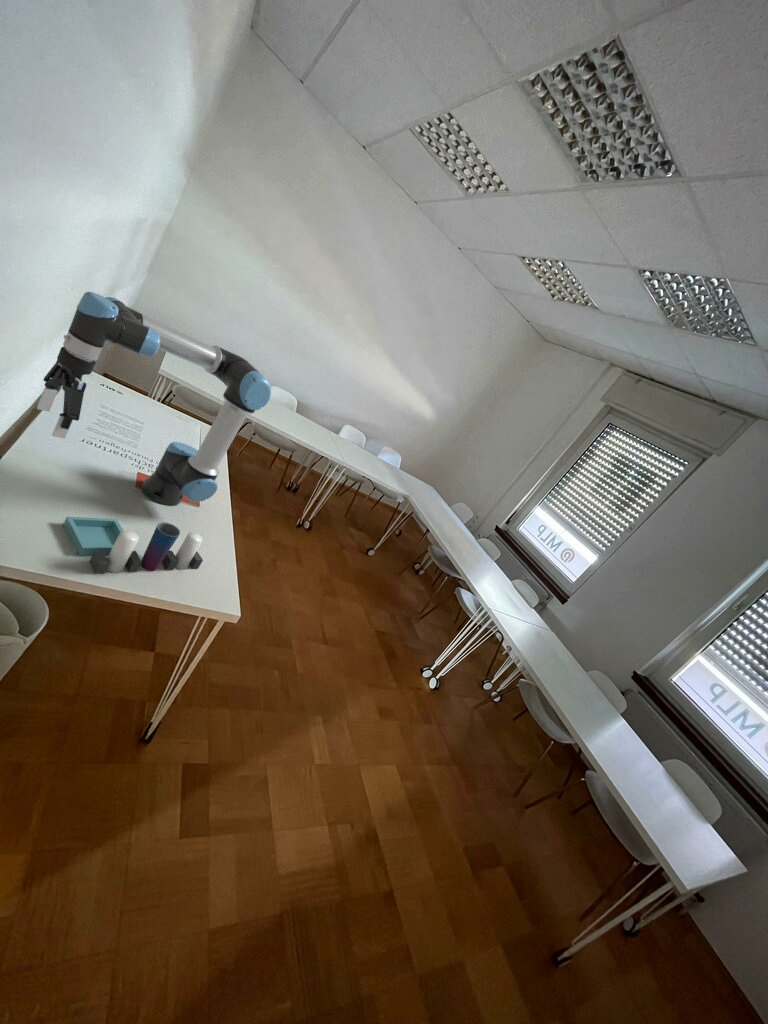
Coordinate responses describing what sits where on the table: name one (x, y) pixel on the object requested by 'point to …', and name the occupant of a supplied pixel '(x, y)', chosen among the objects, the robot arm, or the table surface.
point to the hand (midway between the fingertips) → (50, 423)
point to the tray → (92, 534)
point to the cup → (159, 545)
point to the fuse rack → (130, 559)
